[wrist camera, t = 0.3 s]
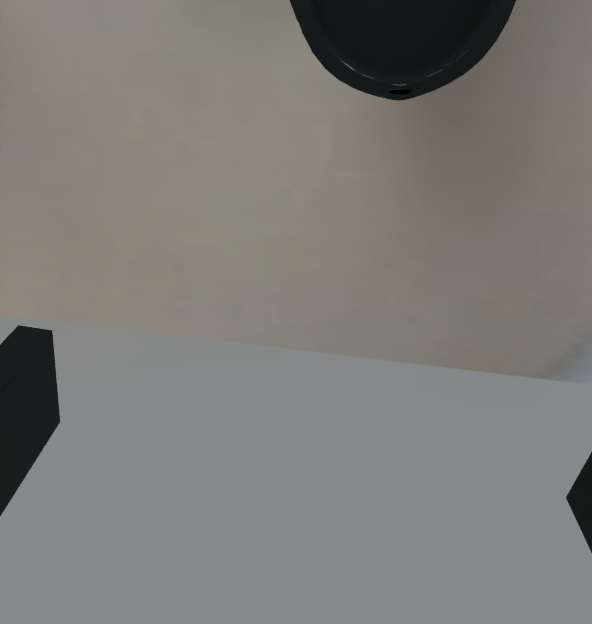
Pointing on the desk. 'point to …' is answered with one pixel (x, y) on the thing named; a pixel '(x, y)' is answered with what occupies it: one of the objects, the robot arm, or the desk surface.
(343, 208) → the desk surface
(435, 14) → the coffee cup
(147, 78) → the desk surface
